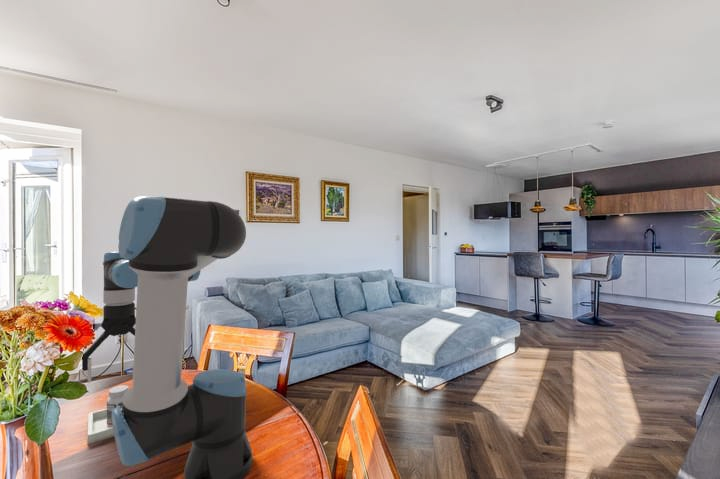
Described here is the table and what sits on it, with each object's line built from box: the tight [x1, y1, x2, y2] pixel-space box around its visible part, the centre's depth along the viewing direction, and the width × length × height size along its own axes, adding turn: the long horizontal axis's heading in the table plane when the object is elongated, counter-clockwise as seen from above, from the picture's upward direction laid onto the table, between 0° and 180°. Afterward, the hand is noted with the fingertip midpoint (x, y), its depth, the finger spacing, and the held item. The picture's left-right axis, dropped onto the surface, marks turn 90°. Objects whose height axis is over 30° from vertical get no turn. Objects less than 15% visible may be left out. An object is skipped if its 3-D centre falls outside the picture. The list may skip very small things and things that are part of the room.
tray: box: [87, 407, 115, 445], centre depth 96 cm, size 14×14×2 cm
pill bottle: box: [106, 384, 129, 427], centre depth 96 cm, size 6×6×10 cm
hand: (119, 374), depth 96 cm, fingers open, 13 cm apart
